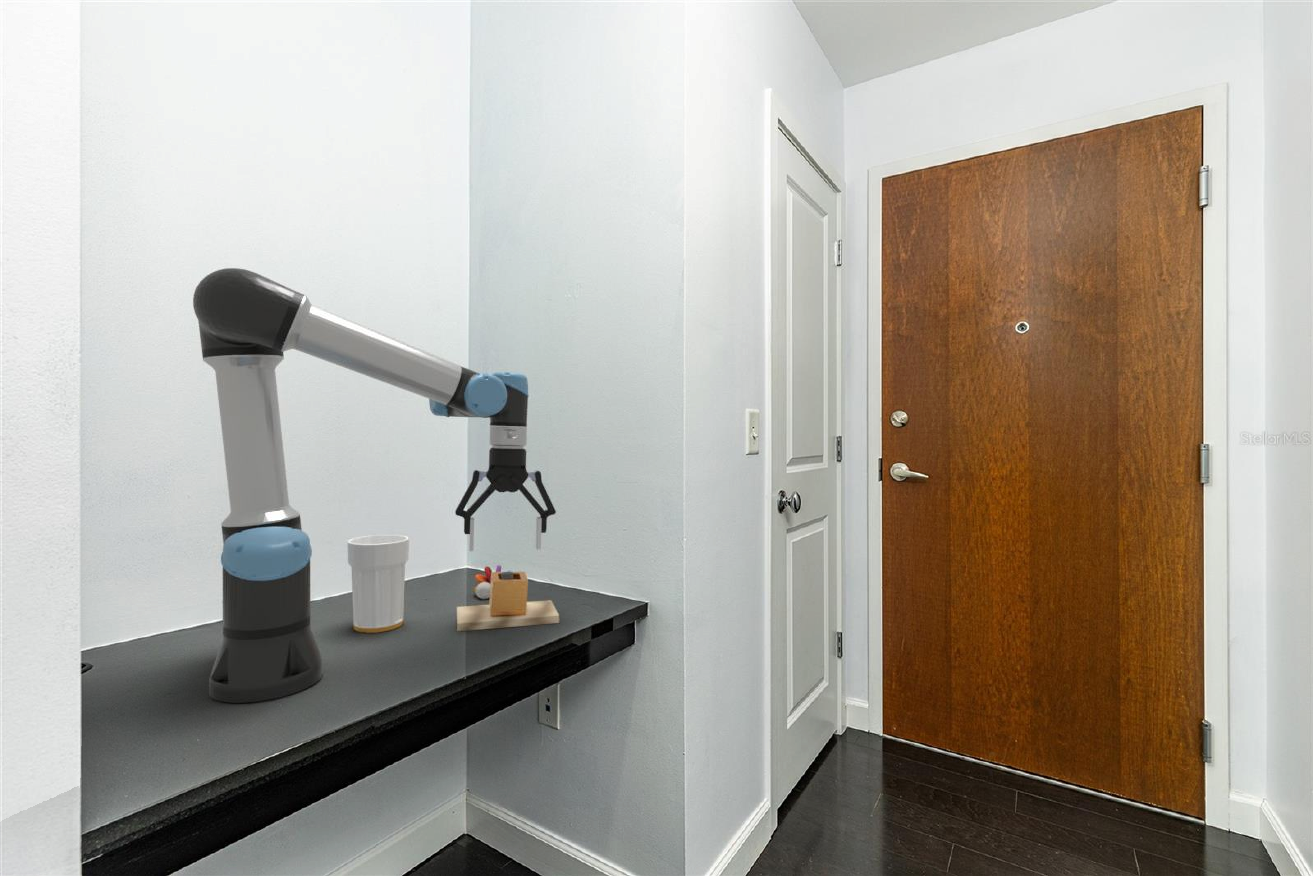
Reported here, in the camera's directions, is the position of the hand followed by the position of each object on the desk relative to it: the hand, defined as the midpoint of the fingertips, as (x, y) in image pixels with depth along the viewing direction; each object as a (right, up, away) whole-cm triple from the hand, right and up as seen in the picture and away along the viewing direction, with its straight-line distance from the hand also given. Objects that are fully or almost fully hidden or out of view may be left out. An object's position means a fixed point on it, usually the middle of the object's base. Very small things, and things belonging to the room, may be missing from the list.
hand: (505, 549), depth 133 cm
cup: (-24, -15, -5) cm, 29 cm away
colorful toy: (-7, -15, +19) cm, 25 cm away
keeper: (0, -15, 0) cm, 15 cm away
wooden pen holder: (0, -13, 0) cm, 13 cm away
